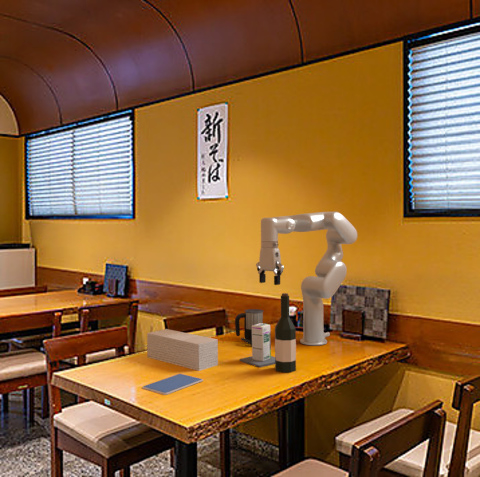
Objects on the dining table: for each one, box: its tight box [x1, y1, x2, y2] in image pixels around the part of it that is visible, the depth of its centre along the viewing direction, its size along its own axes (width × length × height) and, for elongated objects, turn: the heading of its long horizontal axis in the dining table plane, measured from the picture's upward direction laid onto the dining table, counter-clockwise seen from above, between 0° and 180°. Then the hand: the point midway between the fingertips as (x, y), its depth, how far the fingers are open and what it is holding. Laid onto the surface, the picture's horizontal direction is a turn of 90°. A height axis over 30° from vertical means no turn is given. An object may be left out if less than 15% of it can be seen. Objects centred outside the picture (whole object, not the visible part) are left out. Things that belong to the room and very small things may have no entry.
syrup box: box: [251, 323, 272, 361], centre depth 216 cm, size 6×6×14 cm
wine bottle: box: [274, 292, 297, 374], centre depth 203 cm, size 8×8×30 cm
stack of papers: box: [146, 328, 219, 372], centre depth 218 cm, size 32×11×11 cm, turn 49°
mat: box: [239, 355, 275, 368], centre depth 216 cm, size 13×13×1 cm
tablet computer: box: [142, 373, 204, 396], centre depth 187 cm, size 19×13×1 cm, turn 142°
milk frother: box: [234, 308, 264, 346], centre depth 248 cm, size 14×16×15 cm
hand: (269, 283), depth 231 cm, fingers open, 9 cm apart
